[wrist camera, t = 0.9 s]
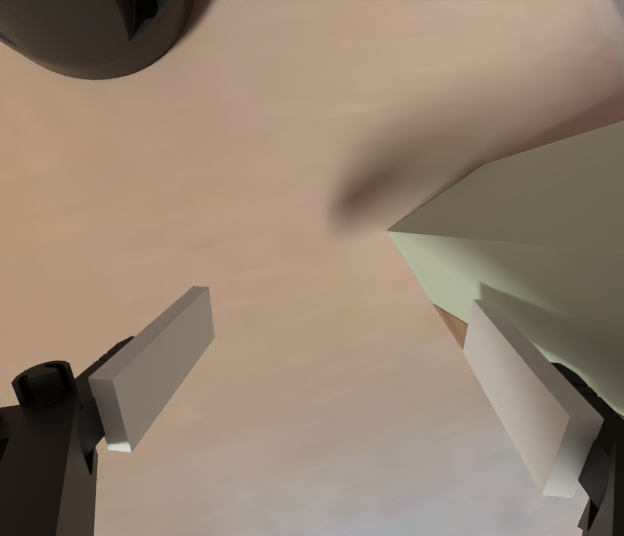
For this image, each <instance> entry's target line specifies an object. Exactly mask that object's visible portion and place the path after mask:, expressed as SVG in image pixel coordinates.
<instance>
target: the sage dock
mask: <svg viewBox="0 0 624 536" xmlns="http://www.w3.org/2000/svg"><path fill="white" fill-rule="evenodd" d="M386 232H387V233H388V235H389V236H390V238H391V240H392V241H393V243H394V244H395V246H396V247H397V249H398V250H399V252H400V254H401V255H402V257H403V258H404V260H405V261H406V263H407V264H408V266H409V268H410V269H411V271H412V272H413V274H414V275H415V277H416V278H417V280H418V282H419V283H420V285H421V286H422V288H423V289H424V291H425V293H426V294H427V296H428V297H429V299H430V300H431V302H432V303H433V304H435V305H437V306H438V307H440V308H442V309H443V310H445V311H447V312H448V313H450V314H452V315H454V316H455V317H457V318H459V319H460V320H462V321H464V322H465V323H467V324H468V323H469V317H470V312H471V307H472V302H473V299H479V300H492V301H493V302H494V303H495V304H496V305H497V307H498V308H499V309H500V310H501V311H502V312H503V313H504V314H505V315H506V316H507V317H508V318H509V319H510V320H511V321H512V322H513V323H514V324H515V326H516V327H517V328H518V329H519V330H520V331H521V332H522V333H523V334H524V335H525V336H526V337H527V338H528V339H529V340H530V341H531V342H532V344H533V345H534V346H535V347H536V348H537V349H538V350H539V351H540V352H541V353H542V354H543V355H544V356H545V357H546V358H547V359H548V360H549V361H550V362H554V363H561V364H563V365H564V366H566V367H567V368H569V369H571V370H572V371H574V372H575V373H577V374H578V375H579V376H580V377H581V378H582V379H583V380H584V381H585V382H586V383H587V384H588V387H591V388H592V389H593V390H594V391H595V392H596V393H597V394H598V396H599V397H601V398H602V399H603V400H604V401H605V402H606V403H607V404H608V405H609V406H610V407H611V408H612V409H613V410H614V411H616V412H618V413H619V414H621V415H623V416H624V120H623V121H619V122H616V123H613V124H610V125H607V126H604V127H600V128H597V129H594V130H591V131H588V132H584V133H581V134H578V135H575V136H572V137H569V138H565V139H562V140H559V141H556V142H553V143H549V144H546V145H543V146H540V147H537V148H534V149H530V150H527V151H524V152H521V153H518V154H514V155H511V156H508V157H505V158H502V159H499V160H495V161H492V162H489V163H486V164H483V165H482V166H480V167H479V168H477V169H476V170H475V171H473V172H472V173H470V174H469V175H467V176H466V177H464V178H463V179H461V180H460V181H458V182H457V183H456V184H454V185H453V186H451V187H450V188H448V189H447V190H445V191H444V192H442V193H441V194H439V195H438V196H437V197H435V198H434V199H432V200H431V201H429V202H428V203H426V204H425V205H423V206H422V207H420V208H419V209H418V210H416V211H415V212H413V213H412V214H410V215H409V216H407V217H406V218H404V219H403V220H401V221H400V222H399V223H397V224H396V225H394V226H393V227H391V228H390V229H388V230H387V231H386Z"/></svg>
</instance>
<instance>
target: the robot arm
mask: <svg viewBox="0 0 624 536" xmlns="http://www.w3.org/2000/svg"><path fill="white" fill-rule="evenodd" d="M193 2H194V0H0V41H1V42H3V43H4V44H5V45H7V46H9V47H10V48H12V49H14V50H15V51H17V52H18V53H20V54H22V55H23V56H25V57H27V58H28V59H30V60H31V61H33V62H35V63H36V64H38V65H40V66H42V67H44V68H46V69H48V70H51V71H53V72H56V73H59V74H62V75H65V76H69V77H73V78H79V79H89V80H103V79H111V78H117V77H121V76H125V75H128V74H131V73H133V72H136V71H138V70H140V69H142V68H144V67H145V66H147V65H149V64H150V63H152V62H153V61H155V60H156V59H157V58H159V57H160V56H161V55H162V54H163V53H164V52H165V51H166V50H167V49H168V48H169V47H170V46H171V45H172V44H173V42H174V41H175V40H176V38H177V37H178V35H179V34H180V32H181V31H182V29H183V27H184V25H185V24H186V21H187V19H188V17H189V15H190V12H191V9H192V6H193ZM214 337H215V335H214V327H213V319H212V310H211V302H210V294H209V287H198V286H193V287H192V288H191V289H190V290H188V291H187V292H186V293H185V294H184V295H183V296H182V297H180V298H179V299H178V300H177V301H176V302H175V303H174V304H172V305H171V306H170V307H169V308H168V309H167V310H165V311H164V312H163V313H162V314H161V315H160V316H159V317H157V318H156V319H155V320H154V321H153V322H152V323H151V324H149V325H148V326H147V327H146V328H145V329H144V330H142V331H141V332H140V333H139V334H138V335H137V336H136V337H133V336H131V337H129V338H127V339H125V340H123V341H121V342H119V343H117V344H116V345H115V346H114V347H113V348H111V349H110V350H109V351H108V352H107V354H104V355H103V356H102V357H101V358H99V361H96V362H95V363H93V364H92V365H91V366H90V367H89V368H87V369H86V370H85V371H84V372H82V373H81V374H80V375H79V376H78V377H76V378H75V379H74V376H73V373H72V370H71V367H70V363H68V362H66V361H50V362H45V363H42V364H39V365H36V366H34V367H31V368H29V369H27V370H25V371H24V372H22V373H21V374H19V375H18V376H17V377H16V378H15V379H14V380H13V381H12V386H13V388H14V391H15V393H16V396H17V399H18V401H19V404H20V405H15V406H8V407H2V408H0V536H94V519H95V500H96V481H97V462H98V454H97V451H96V447H95V446H96V445H97V444H98V443H99V441H100V440H101V439H102V438H103V437H104V436H105V439H106V443H107V446H108V449H109V450H114V451H124V452H132V451H133V449H134V448H135V447H136V445H137V444H138V442H139V441H140V440H141V438H142V437H143V436H144V434H145V433H146V431H147V430H148V429H149V427H150V426H151V424H152V423H153V422H154V420H155V419H156V418H157V416H158V415H159V413H160V412H161V411H162V409H163V408H164V406H165V405H166V404H167V402H168V401H169V400H170V398H171V397H172V395H173V394H174V393H175V391H176V390H177V389H178V387H179V386H180V384H181V383H182V382H183V380H184V379H185V377H186V376H187V375H188V373H189V372H190V371H191V369H192V368H193V366H194V365H195V364H196V362H197V361H198V359H199V358H200V357H201V355H202V354H203V353H204V351H205V350H206V348H207V347H208V346H209V344H210V343H211V342H212V340H213V339H214ZM463 354H464V356H465V358H466V359H467V361H468V363H469V365H470V366H471V368H472V370H473V372H474V374H475V375H476V377H477V379H478V381H479V383H480V384H481V386H482V388H483V390H484V392H485V393H486V395H487V397H488V399H489V400H490V402H491V404H492V406H493V408H494V409H495V411H496V413H497V415H498V417H499V418H500V420H501V422H502V424H503V426H504V427H505V429H506V431H507V433H508V434H509V436H510V438H511V440H512V442H513V443H514V445H515V447H516V449H517V451H518V452H519V454H520V456H521V458H522V460H523V461H524V463H525V465H526V467H527V468H528V470H529V472H530V474H531V476H532V477H533V479H534V481H535V483H536V485H537V486H538V488H539V490H540V492H541V494H542V495H547V496H557V497H566V498H573V495H574V493H575V490H576V488H577V485H578V483H579V482H580V484H581V485H582V487H583V488H584V490H585V491H586V493H587V494H588V495H589V497H590V498H589V500H588V503H587V505H586V507H585V510H584V512H583V514H582V517H581V519H580V521H579V524H578V526H577V527H579V528H581V529H582V530H583V533H582V536H624V419H623V418H622V417H621V416H620V415H618V414H617V413H616V412H615V411H614V410H613V409H612V408H611V407H610V406H609V405H608V404H607V403H606V402H605V401H604V400H603V399H602V398H601V397H599V396H598V394H597V393H596V392H595V391H594V390H593V389H592V388H591V387H588V384H587V383H586V382H585V381H584V380H583V379H582V378H581V377H580V376H579V375H578V374H577V373H575V372H574V371H572V370H571V369H569V368H567V367H566V366H564V365H563V364H561V363H554V362H550V361H549V360H548V359H547V358H546V357H545V356H544V355H543V354H542V353H541V352H540V351H539V350H538V349H537V348H536V347H535V346H534V345H533V344H532V342H531V341H530V340H529V339H528V338H527V337H526V336H525V335H524V334H523V333H522V332H521V331H520V330H519V329H518V328H517V327H516V326H515V324H514V323H513V322H512V321H511V320H510V319H509V318H508V317H507V316H506V315H505V314H504V313H503V312H502V311H501V310H500V309H499V308H498V307H497V305H496V304H495V303H494V302H493V301H492V300H479V299H473V302H472V307H471V312H470V317H469V323H468V328H467V333H466V338H465V344H464V349H463Z"/></svg>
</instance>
